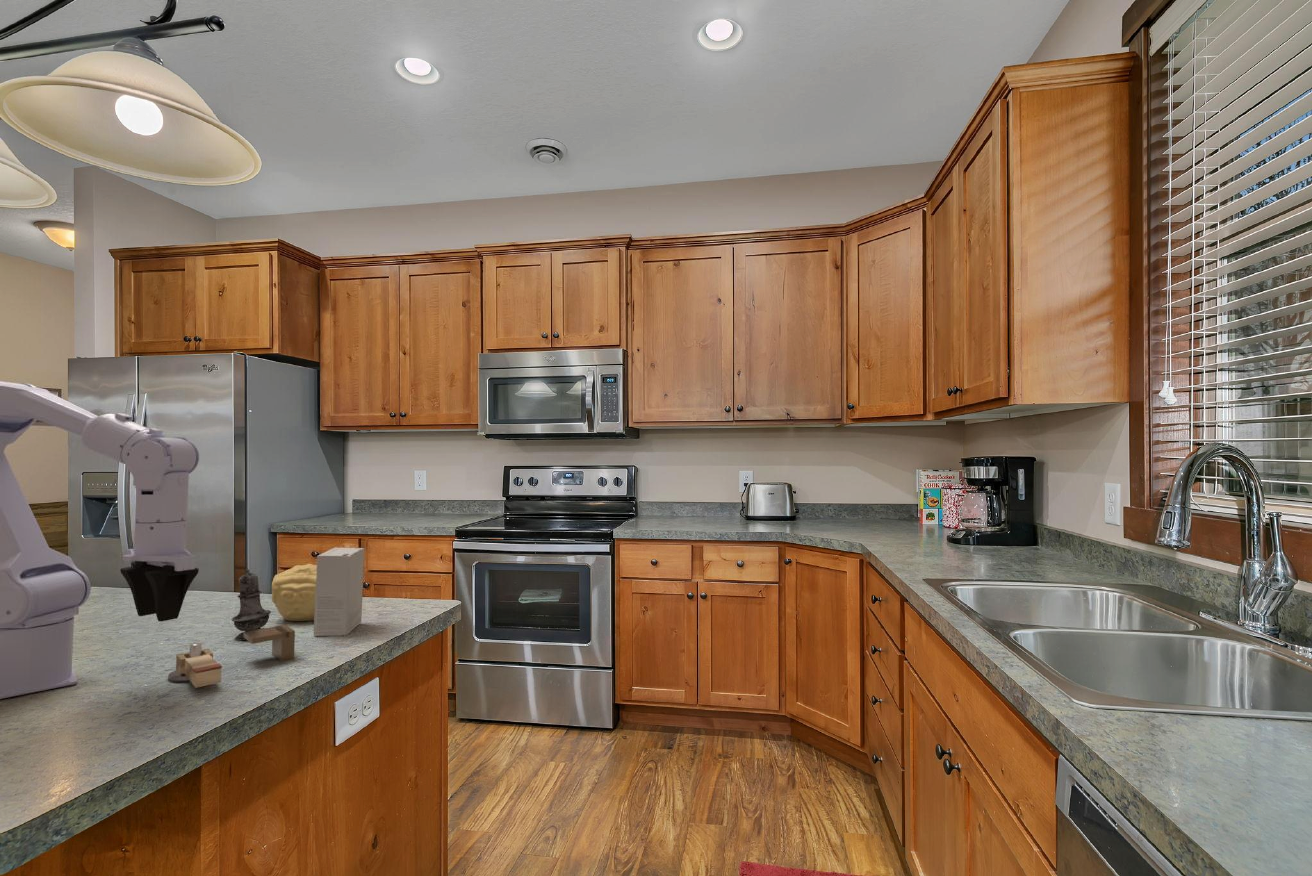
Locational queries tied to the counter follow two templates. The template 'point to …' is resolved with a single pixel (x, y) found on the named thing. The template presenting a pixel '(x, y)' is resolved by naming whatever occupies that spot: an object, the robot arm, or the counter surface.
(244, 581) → the dark grey tall piece
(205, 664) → the link
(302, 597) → the sculpture
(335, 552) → the skincare box
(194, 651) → the pintle base
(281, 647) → the keeper
